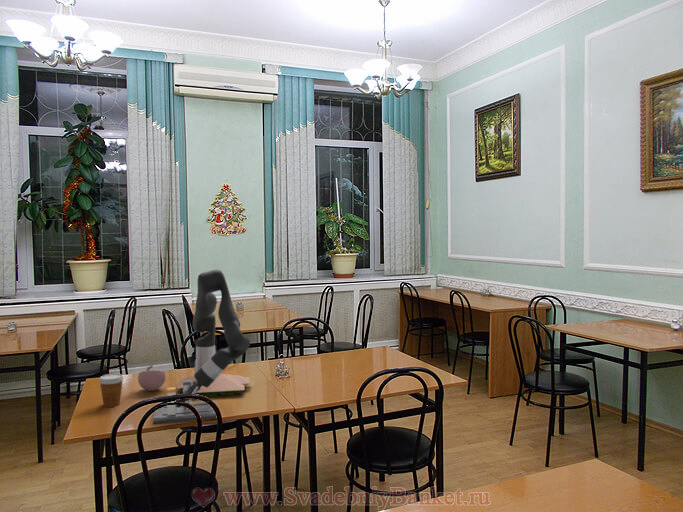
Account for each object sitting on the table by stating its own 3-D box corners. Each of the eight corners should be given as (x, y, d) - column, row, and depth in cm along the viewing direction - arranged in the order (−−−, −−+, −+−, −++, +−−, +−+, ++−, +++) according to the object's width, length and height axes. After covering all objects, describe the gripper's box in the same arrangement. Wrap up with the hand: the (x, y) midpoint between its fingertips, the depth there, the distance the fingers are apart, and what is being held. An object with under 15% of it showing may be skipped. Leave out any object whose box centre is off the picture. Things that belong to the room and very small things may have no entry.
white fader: (191, 406, 211) (191, 379, 210) (191, 408, 208) (190, 381, 207) (183, 406, 210) (183, 380, 210) (183, 409, 207) (183, 382, 207)
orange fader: (175, 414, 201) (175, 387, 200) (175, 417, 198) (175, 389, 197) (167, 415, 200) (167, 387, 200) (167, 417, 197) (167, 389, 197)
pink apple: (166, 385, 244) (165, 361, 243) (165, 392, 232) (165, 368, 232) (139, 387, 240) (138, 363, 240) (137, 395, 229) (136, 370, 228)
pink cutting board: (250, 396, 229) (250, 378, 228) (174, 401, 222) (174, 382, 222) (249, 382, 251) (249, 365, 251) (180, 385, 245) (179, 369, 244)
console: (153, 423, 194) (153, 418, 194) (157, 410, 209) (157, 405, 209) (217, 418, 200) (217, 412, 200) (217, 405, 215) (217, 400, 215)
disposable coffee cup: (99, 409, 210) (99, 380, 209) (98, 402, 218) (98, 375, 218) (124, 406, 214) (124, 377, 214) (123, 399, 223) (122, 372, 222)
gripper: (216, 383, 196) (183, 417, 193) (215, 374, 209) (184, 406, 206) (201, 370, 195) (168, 404, 192) (202, 362, 207) (171, 394, 205)
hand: (177, 405), depth 199 cm, fingers closed
